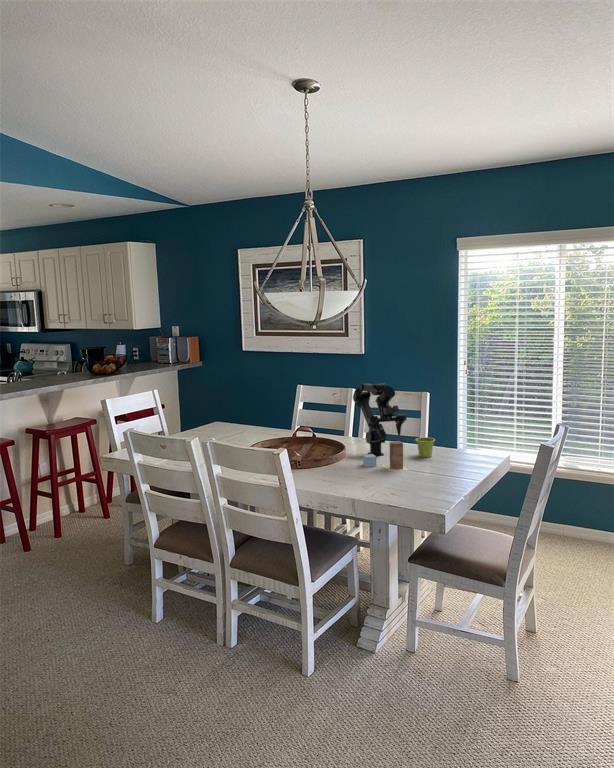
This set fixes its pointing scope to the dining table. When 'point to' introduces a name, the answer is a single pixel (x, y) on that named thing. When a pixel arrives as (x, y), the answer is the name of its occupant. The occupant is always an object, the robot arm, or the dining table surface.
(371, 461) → the slate cube
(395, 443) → the wooden cuboid post
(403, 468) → the letter
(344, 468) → the dining table surface
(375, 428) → the robot arm
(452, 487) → the dining table surface
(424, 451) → the plant pot
